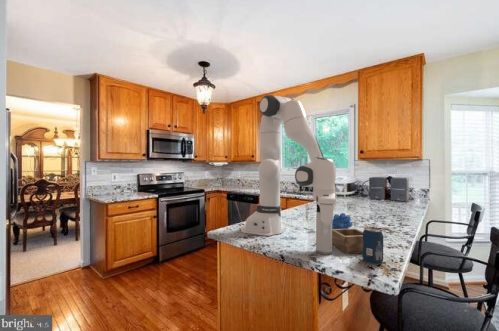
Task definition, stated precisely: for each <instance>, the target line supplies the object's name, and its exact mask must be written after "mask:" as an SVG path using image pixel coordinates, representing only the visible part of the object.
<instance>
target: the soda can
mask: <svg viewBox="0 0 499 331" xmlns="http://www.w3.org/2000/svg"><path fill="white" fill-rule="evenodd" d="M362 232H363V242H362V254H361V256H362V259H363V261H364V262H366V263H367V264H371V265H381V264H382V263H383V261H384V234H383V232H382V229H380V228H376V227H364V229H363V231H362Z"/></svg>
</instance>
